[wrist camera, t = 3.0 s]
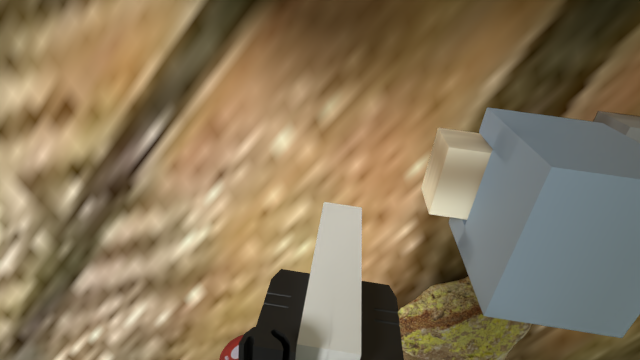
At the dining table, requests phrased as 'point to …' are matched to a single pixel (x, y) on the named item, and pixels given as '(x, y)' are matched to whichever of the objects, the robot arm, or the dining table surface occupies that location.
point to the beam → (479, 165)
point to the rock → (455, 326)
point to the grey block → (555, 224)
